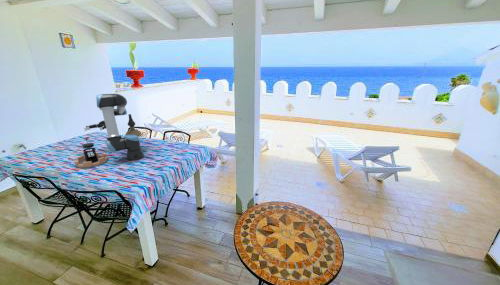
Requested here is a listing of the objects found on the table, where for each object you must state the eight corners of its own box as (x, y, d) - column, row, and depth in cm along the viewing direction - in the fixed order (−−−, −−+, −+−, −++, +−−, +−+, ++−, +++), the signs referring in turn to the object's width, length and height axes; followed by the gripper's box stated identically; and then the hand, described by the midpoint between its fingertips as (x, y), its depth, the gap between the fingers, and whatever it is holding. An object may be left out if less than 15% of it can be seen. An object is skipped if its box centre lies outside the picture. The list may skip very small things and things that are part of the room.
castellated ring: (113, 158, 200) (111, 153, 198) (93, 169, 178) (91, 163, 176) (91, 156, 203) (90, 151, 201) (69, 167, 181) (67, 161, 179)
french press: (91, 158, 196) (85, 136, 188) (101, 158, 196) (95, 136, 188) (82, 164, 185) (75, 140, 177) (93, 164, 185) (86, 140, 177)
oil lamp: (125, 152, 214) (117, 115, 201) (135, 147, 228) (128, 112, 214) (137, 153, 212) (130, 116, 198) (147, 148, 226) (141, 113, 212)
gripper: (117, 127, 217) (107, 132, 197) (92, 127, 214) (79, 133, 194) (116, 120, 215) (105, 125, 195) (90, 120, 211) (77, 125, 192)
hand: (92, 129), depth 194 cm, fingers open, 13 cm apart
